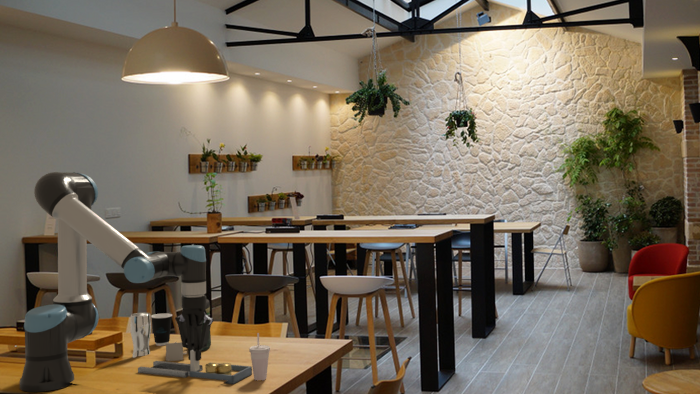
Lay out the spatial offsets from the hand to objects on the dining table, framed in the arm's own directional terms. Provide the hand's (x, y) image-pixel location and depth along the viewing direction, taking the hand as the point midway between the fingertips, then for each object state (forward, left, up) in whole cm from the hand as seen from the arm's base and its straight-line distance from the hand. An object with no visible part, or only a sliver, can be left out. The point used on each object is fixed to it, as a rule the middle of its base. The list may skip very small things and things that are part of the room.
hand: (195, 370), depth 208 cm
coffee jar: (+32, +20, -2) cm, 38 cm away
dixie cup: (+34, +38, -2) cm, 51 cm away
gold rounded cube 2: (+1, -10, -2) cm, 10 cm away
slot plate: (0, +9, -2) cm, 10 cm away
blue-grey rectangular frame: (+3, -8, -2) cm, 8 cm away
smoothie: (+5, -21, -2) cm, 21 cm away
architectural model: (+12, +17, -3) cm, 21 cm away
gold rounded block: (0, -6, -2) cm, 7 cm away
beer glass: (+16, +33, -2) cm, 37 cm away
